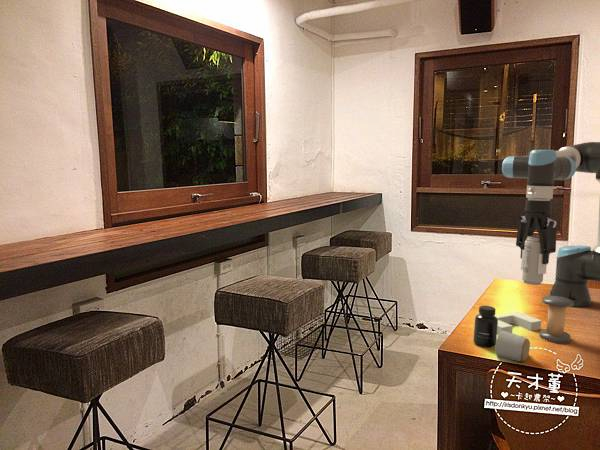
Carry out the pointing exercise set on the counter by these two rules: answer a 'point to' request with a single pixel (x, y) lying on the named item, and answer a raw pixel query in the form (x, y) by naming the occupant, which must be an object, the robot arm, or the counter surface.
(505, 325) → the notched board
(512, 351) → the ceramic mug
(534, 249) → the energy drink can
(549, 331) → the bobbin
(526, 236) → the robot arm
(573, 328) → the counter surface
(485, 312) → the supplement bottle
